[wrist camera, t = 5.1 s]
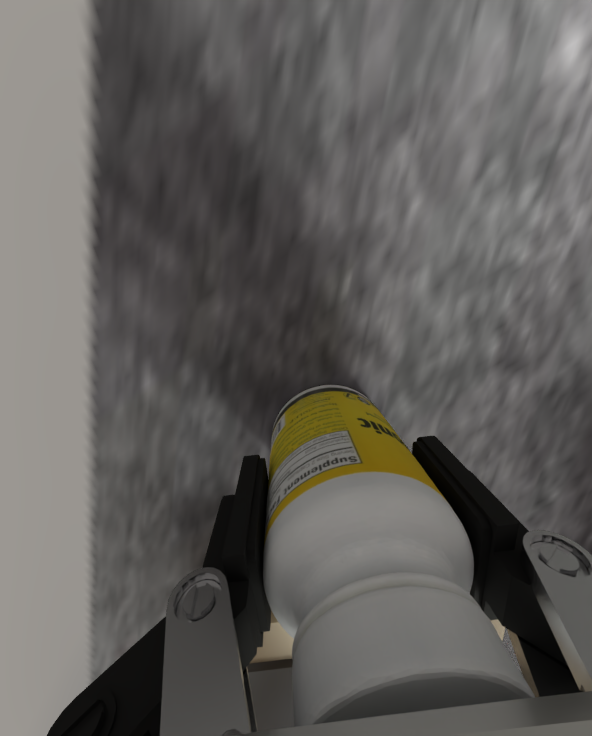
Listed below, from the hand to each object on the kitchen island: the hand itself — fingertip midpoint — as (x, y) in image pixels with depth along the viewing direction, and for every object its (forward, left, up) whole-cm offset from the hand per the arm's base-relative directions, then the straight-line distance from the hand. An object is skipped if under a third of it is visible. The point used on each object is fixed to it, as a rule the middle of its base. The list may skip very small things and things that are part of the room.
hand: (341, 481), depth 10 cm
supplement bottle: (0, 0, -4) cm, 4 cm away
